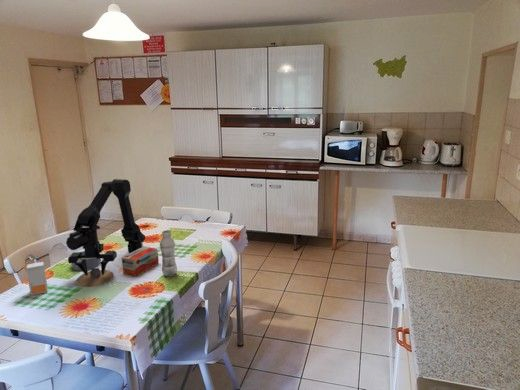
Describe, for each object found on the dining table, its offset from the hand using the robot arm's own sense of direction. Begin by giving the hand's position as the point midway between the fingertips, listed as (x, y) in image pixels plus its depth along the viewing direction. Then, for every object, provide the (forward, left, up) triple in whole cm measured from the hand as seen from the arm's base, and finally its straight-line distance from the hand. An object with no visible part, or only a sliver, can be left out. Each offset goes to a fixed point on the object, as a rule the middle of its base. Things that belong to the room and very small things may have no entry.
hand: (95, 275), depth 166 cm
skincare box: (+19, +10, -2) cm, 22 cm away
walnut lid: (0, 0, -2) cm, 2 cm away
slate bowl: (+9, -15, -2) cm, 18 cm away
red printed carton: (-18, -8, -2) cm, 20 cm away
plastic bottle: (-32, 0, -2) cm, 32 cm away
